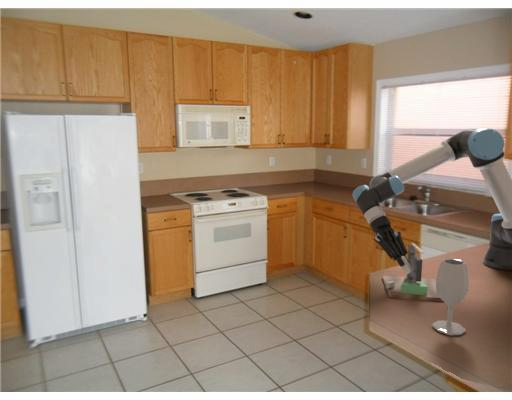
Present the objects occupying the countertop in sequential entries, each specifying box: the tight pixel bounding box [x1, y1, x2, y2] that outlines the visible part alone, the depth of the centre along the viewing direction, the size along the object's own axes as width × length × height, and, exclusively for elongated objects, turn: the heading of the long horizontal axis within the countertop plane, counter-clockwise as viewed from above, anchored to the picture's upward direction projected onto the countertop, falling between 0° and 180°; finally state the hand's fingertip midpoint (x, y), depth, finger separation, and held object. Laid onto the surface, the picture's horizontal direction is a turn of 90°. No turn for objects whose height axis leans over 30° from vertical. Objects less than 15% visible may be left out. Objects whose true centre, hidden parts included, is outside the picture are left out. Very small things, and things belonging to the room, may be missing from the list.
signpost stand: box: [403, 242, 424, 283], centre depth 152 cm, size 14×4×15 cm, turn 175°
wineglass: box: [431, 258, 470, 337], centre depth 120 cm, size 9×9×21 cm
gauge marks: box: [385, 281, 428, 295], centre depth 149 cm, size 14×5×3 cm, turn 61°
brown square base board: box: [382, 275, 443, 302], centre depth 153 cm, size 19×20×1 cm
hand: (410, 272), depth 150 cm, fingers closed
